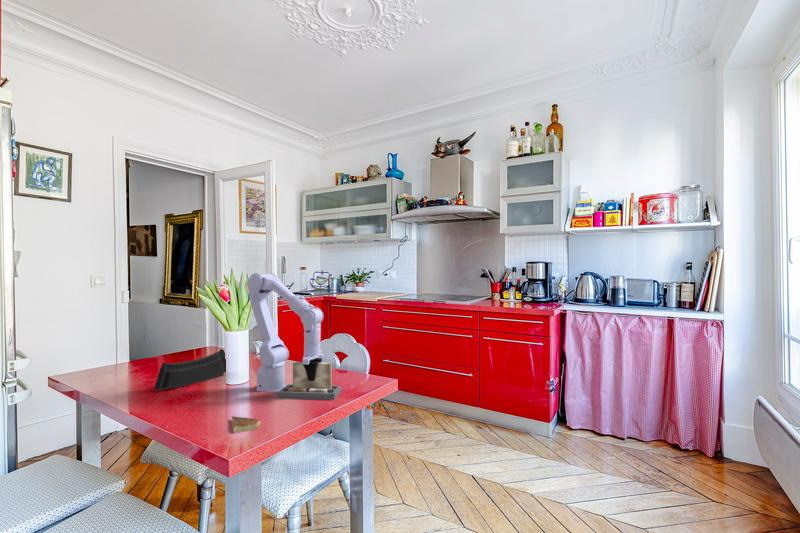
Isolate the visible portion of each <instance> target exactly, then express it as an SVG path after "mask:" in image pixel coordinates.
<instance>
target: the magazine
mask: <svg viewBox="0 0 800 533" xmlns="http://www.w3.org/2000/svg"><path fill="white" fill-rule="evenodd" d="M225 373H226V359H225V349H223V348H221V349H219V351H216V352H214V353H212V354H210V355H209V354H208V355H207V356H204V357H200V358H197V359H193V360H187V361H181V362H175V363H174V362H173V363H172V362H171V363H167V362H163V363H162V364H161V366H160V368H159V371H158V374H157V376H156V381H155V385H154V388H153V389H154V390H155V391H161V390H168V389H174V388H175V389H177V388H182V386H184V387H187V386H186V385H189V386H191V385H190V384H193V383H196V384H198V383H197V382H200V383H203V382H202V381H204V382H206V380H207V381H208V380H209V381H210V380H211V379H214V378H216V377H219V376H222V375H224V374H225ZM193 385H194V384H193Z"/></svg>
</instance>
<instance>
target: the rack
mask: <svg viewBox="0 0 800 533" xmlns="http://www.w3.org/2000/svg"><path fill="white" fill-rule="evenodd" d="M286 385H287V386H285V387H284V388H283V389H281V390H280V391H278V392H277V399H283V400H284V399H288V400H313V401H316V400H317V401H335V399H337V397H339V395H340V393H341V392H342V385H333V384H332V389H327V393H319V392H309V389H311V388H307V392H289V391H288V389H289V388H293V383H292V384H290V383H289V384H286ZM317 389H321V388H317Z"/></svg>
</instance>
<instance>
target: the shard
mask: <svg viewBox="0 0 800 533" xmlns="http://www.w3.org/2000/svg"><path fill="white" fill-rule="evenodd" d="M261 422H262V421H261V420H260V419H256V418H254V419H253V418H249V417H239V416H231V425H232V426H231V429H232V431H233V433H234V434H238V433H242V432H243V433H244V432H250V431H256V430H257V429H258V427H259V425H260V424H261Z"/></svg>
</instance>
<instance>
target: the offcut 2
mask: <svg viewBox="0 0 800 533" xmlns="http://www.w3.org/2000/svg"><path fill="white" fill-rule="evenodd" d="M309 392H319V393H327V389H317V388H311V389H309Z"/></svg>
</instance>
